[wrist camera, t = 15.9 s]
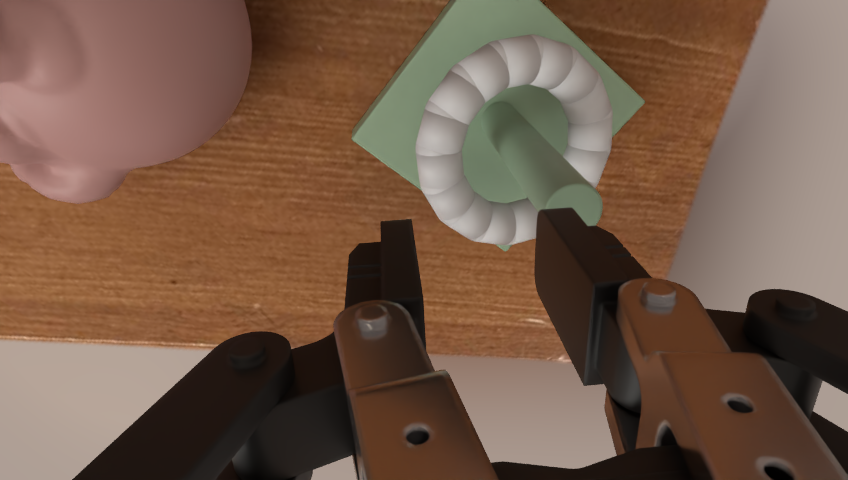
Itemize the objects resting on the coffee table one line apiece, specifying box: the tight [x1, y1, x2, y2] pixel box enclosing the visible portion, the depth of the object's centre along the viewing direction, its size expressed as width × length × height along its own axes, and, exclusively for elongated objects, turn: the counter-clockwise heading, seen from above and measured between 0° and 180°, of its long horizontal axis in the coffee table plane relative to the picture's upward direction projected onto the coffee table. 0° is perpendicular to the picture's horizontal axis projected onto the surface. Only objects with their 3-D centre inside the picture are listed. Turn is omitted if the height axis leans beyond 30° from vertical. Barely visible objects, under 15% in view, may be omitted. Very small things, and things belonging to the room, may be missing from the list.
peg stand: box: [352, 0, 645, 251], centre depth 20 cm, size 9×9×12 cm
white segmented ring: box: [415, 34, 613, 245], centre depth 21 cm, size 8×8×2 cm
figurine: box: [0, 0, 252, 204], centre depth 18 cm, size 9×11×12 cm
